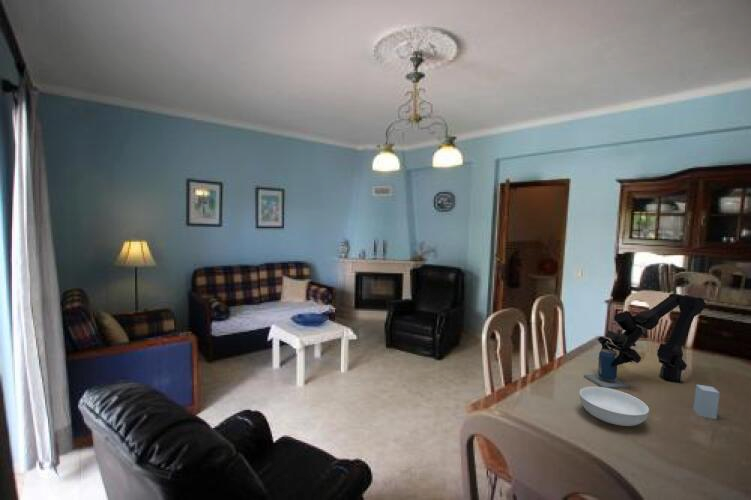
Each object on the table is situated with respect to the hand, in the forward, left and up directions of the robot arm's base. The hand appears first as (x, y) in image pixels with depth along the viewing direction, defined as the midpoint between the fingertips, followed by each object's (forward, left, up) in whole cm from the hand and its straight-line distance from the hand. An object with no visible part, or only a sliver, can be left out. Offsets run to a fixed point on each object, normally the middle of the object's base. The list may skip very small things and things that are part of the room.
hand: (605, 362), depth 163 cm
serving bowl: (+8, +32, -9) cm, 34 cm away
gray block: (-27, +20, -9) cm, 35 cm away
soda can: (-1, 0, -7) cm, 7 cm away
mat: (-1, 0, -9) cm, 9 cm away
